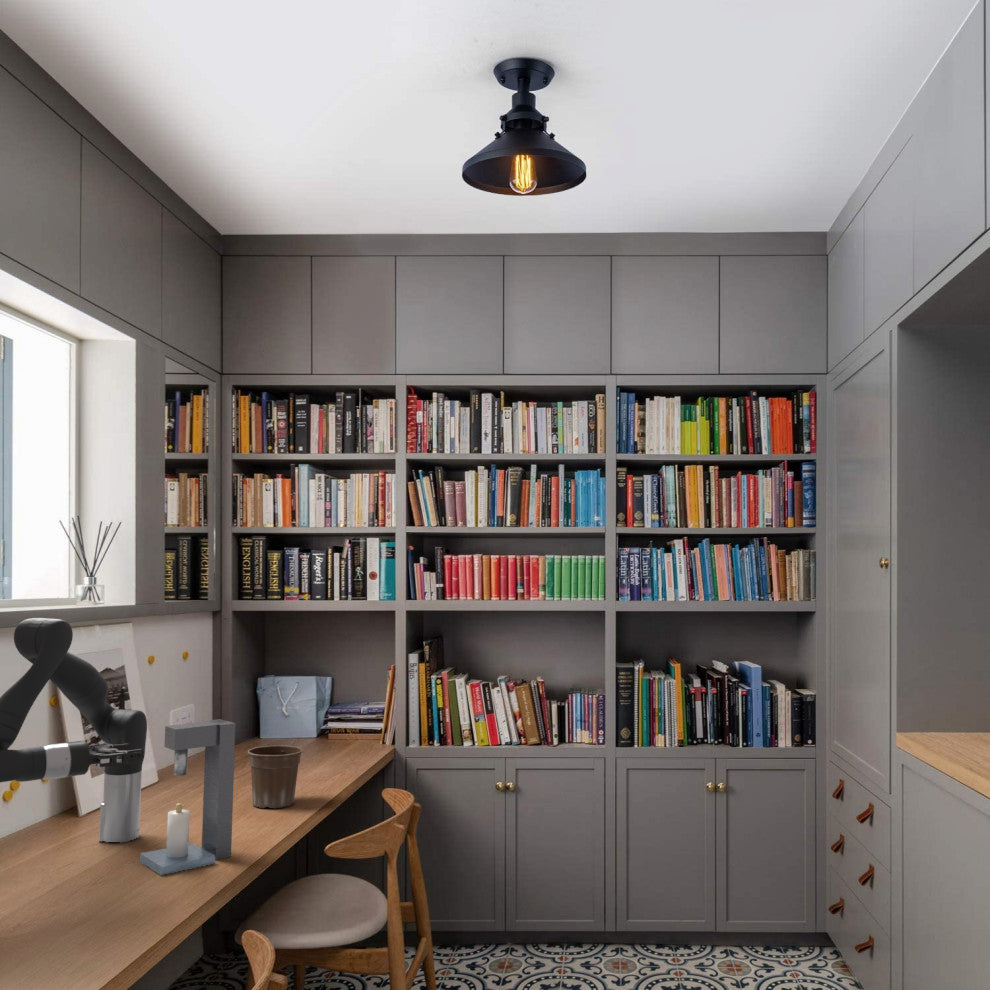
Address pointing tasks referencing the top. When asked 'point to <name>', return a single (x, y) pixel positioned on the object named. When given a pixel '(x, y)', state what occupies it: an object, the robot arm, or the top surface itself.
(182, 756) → the press
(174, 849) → the white cylinder
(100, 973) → the top surface
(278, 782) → the plant pot
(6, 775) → the robot arm
